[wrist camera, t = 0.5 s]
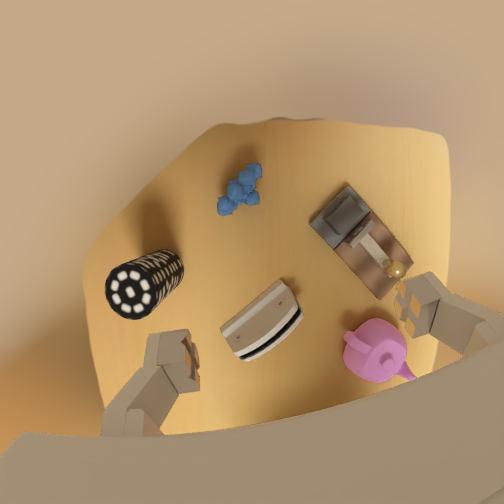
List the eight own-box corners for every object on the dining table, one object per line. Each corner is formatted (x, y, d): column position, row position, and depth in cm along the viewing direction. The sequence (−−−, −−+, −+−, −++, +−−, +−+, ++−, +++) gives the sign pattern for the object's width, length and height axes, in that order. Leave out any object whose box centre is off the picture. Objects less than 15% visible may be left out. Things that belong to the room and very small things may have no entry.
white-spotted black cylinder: (190, 280, 63) (167, 306, 43) (156, 296, 63) (121, 327, 43) (172, 242, 62) (141, 253, 42) (138, 260, 62) (96, 277, 43)
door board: (409, 261, 64) (421, 265, 58) (376, 297, 64) (386, 304, 59) (345, 186, 62) (354, 183, 56) (308, 223, 62) (314, 224, 57)
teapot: (383, 385, 67) (401, 408, 56) (320, 350, 65) (333, 373, 54) (416, 340, 66) (439, 358, 55) (356, 299, 64) (376, 314, 53)
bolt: (394, 266, 61) (410, 272, 54) (385, 277, 62) (400, 283, 55) (359, 224, 60) (372, 225, 53) (349, 235, 61) (361, 237, 54)
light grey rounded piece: (281, 277, 63) (299, 301, 54) (293, 291, 65) (313, 316, 56) (218, 329, 64) (227, 359, 55) (233, 341, 66) (243, 371, 57)
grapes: (239, 228, 62) (237, 231, 50) (212, 207, 62) (204, 204, 50) (276, 182, 62) (283, 174, 50) (249, 161, 61) (250, 148, 49)
